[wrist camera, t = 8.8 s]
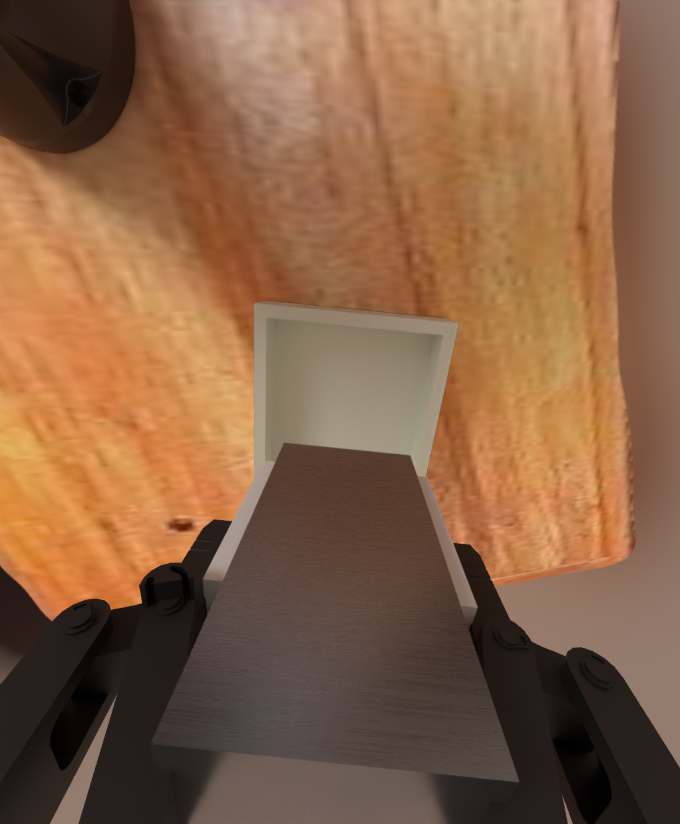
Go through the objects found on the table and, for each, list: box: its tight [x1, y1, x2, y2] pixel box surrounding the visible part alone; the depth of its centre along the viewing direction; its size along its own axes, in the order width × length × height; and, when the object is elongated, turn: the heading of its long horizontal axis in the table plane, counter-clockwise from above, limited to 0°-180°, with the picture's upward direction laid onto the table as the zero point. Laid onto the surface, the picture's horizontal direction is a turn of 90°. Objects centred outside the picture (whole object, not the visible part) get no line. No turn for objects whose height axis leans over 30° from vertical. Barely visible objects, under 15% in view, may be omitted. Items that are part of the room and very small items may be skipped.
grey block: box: [150, 443, 520, 824], centre depth 12 cm, size 10×6×11 cm, turn 175°
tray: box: [254, 301, 459, 479], centre depth 31 cm, size 20×16×4 cm
